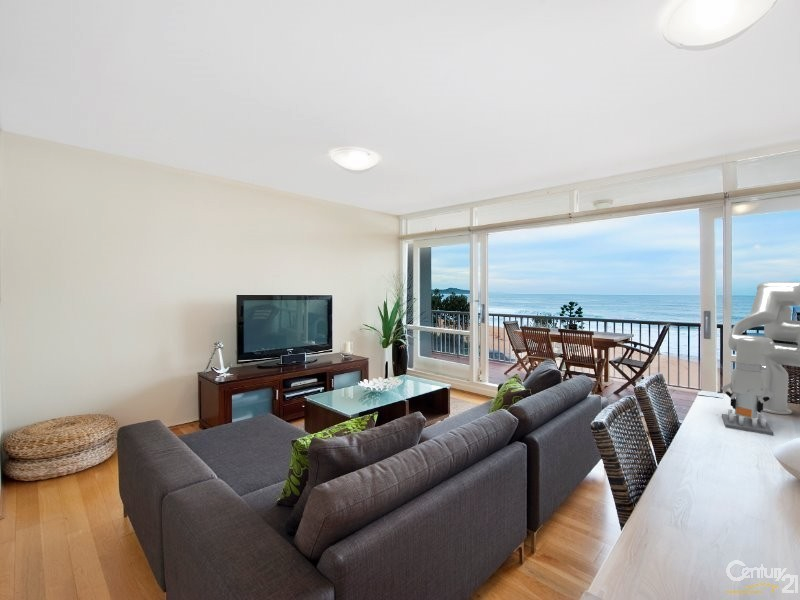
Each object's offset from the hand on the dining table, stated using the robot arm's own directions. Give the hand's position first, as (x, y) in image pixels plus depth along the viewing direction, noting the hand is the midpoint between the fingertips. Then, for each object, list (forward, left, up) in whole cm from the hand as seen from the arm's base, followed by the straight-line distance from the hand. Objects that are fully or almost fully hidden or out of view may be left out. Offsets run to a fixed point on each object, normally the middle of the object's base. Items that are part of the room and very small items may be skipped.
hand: (746, 409), depth 155 cm
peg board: (0, 0, -7) cm, 7 cm away
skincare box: (0, 0, -3) cm, 3 cm away
